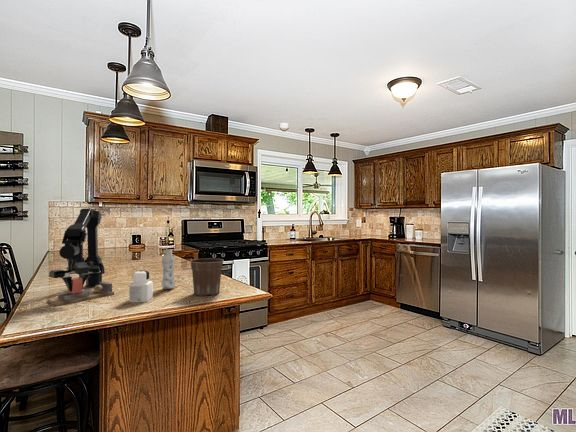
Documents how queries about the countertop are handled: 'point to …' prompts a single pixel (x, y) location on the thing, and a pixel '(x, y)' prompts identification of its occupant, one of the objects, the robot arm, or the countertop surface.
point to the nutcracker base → (83, 295)
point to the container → (141, 287)
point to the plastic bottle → (168, 270)
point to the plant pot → (206, 276)
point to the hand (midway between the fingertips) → (75, 290)
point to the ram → (77, 286)
